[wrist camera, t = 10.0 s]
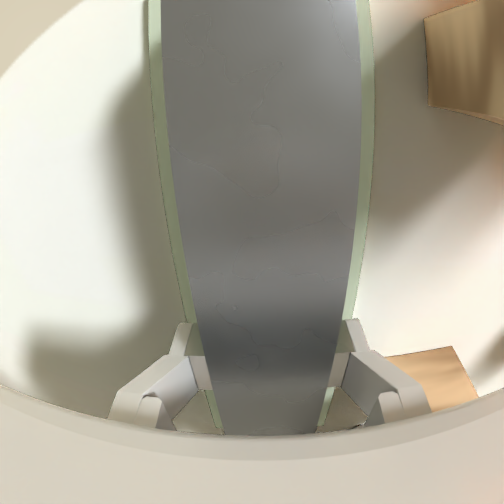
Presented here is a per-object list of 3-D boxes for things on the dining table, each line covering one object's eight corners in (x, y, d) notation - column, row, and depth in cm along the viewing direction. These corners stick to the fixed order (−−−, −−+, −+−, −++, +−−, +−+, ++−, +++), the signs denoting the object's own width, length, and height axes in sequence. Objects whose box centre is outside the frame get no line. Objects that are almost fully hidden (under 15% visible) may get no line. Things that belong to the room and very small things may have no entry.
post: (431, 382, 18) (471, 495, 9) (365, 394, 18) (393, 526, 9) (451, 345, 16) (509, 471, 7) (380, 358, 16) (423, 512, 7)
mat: (322, 419, 19) (323, 425, 19) (216, 421, 20) (215, 427, 19) (361, -15, 7) (366, -20, 7) (153, -9, 7) (148, -14, 7)
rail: (293, 445, 17) (295, 492, 13) (245, 446, 17) (243, 492, 14) (310, -35, 5) (337, -97, 2) (199, -31, 5) (164, -90, 2)
